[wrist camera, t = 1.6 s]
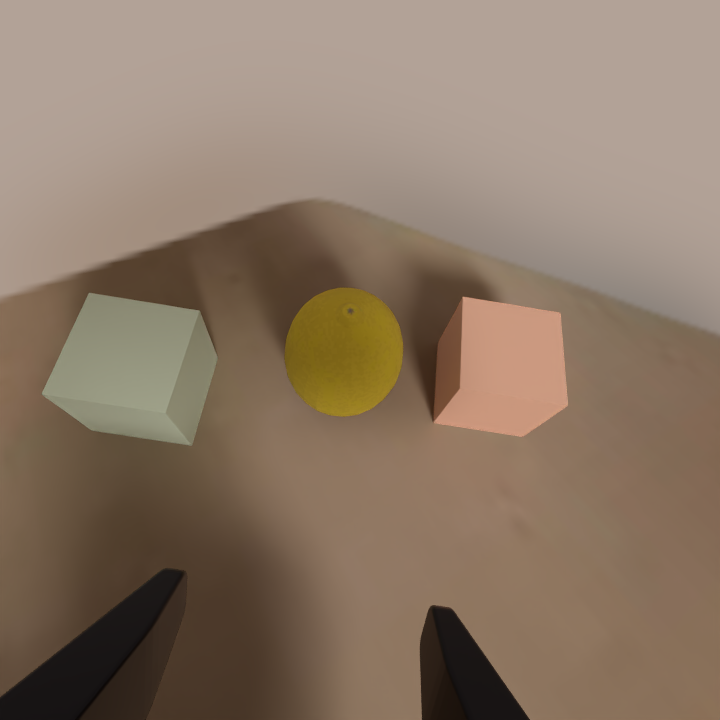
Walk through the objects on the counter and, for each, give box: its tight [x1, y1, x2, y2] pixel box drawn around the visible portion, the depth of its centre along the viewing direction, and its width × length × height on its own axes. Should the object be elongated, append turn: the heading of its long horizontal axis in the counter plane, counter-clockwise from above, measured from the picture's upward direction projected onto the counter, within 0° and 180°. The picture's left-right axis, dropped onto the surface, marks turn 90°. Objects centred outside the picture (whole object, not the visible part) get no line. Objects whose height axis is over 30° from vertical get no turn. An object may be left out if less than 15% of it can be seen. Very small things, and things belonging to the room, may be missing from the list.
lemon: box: [285, 288, 403, 417], centre depth 22 cm, size 6×6×8 cm
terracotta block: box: [433, 297, 568, 437], centre depth 24 cm, size 5×5×5 cm
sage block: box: [42, 293, 218, 446], centre depth 22 cm, size 5×5×5 cm
